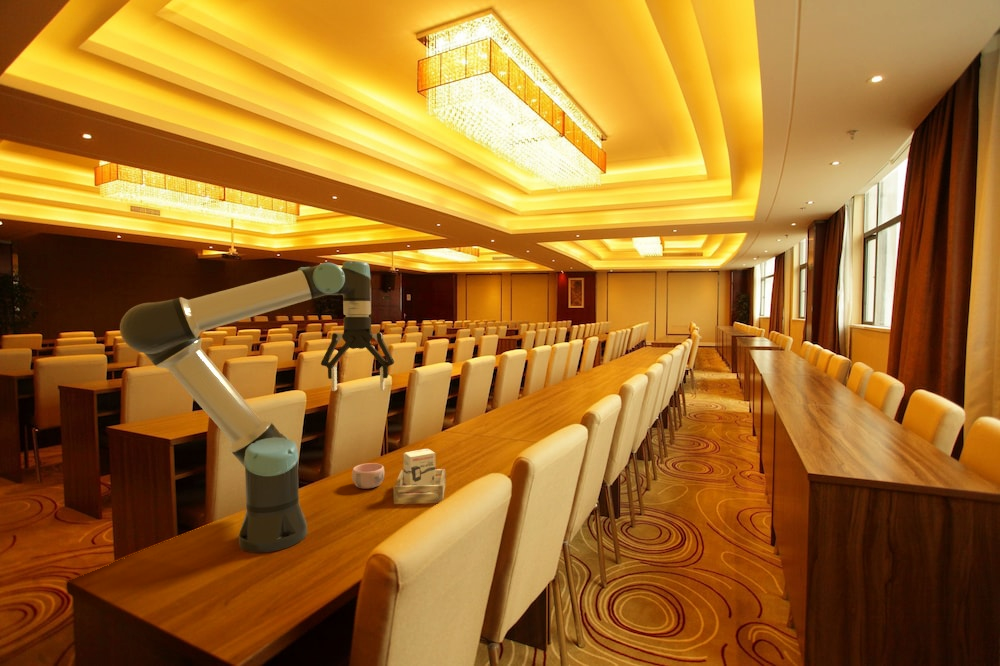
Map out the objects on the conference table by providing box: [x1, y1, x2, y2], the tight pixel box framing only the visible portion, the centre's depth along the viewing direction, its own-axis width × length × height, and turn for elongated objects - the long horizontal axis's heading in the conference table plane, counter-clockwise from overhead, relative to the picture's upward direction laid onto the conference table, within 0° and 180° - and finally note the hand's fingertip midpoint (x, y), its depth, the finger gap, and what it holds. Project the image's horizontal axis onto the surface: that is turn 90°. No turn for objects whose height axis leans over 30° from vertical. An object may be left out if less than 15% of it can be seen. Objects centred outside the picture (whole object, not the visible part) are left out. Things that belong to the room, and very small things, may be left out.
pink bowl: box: [351, 462, 385, 489], centre depth 157 cm, size 12×10×6 cm
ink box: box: [402, 448, 436, 494], centre depth 149 cm, size 8×5×12 cm, turn 124°
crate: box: [393, 468, 447, 505], centre depth 149 cm, size 14×15×5 cm
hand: (358, 390), depth 142 cm, fingers open, 13 cm apart
